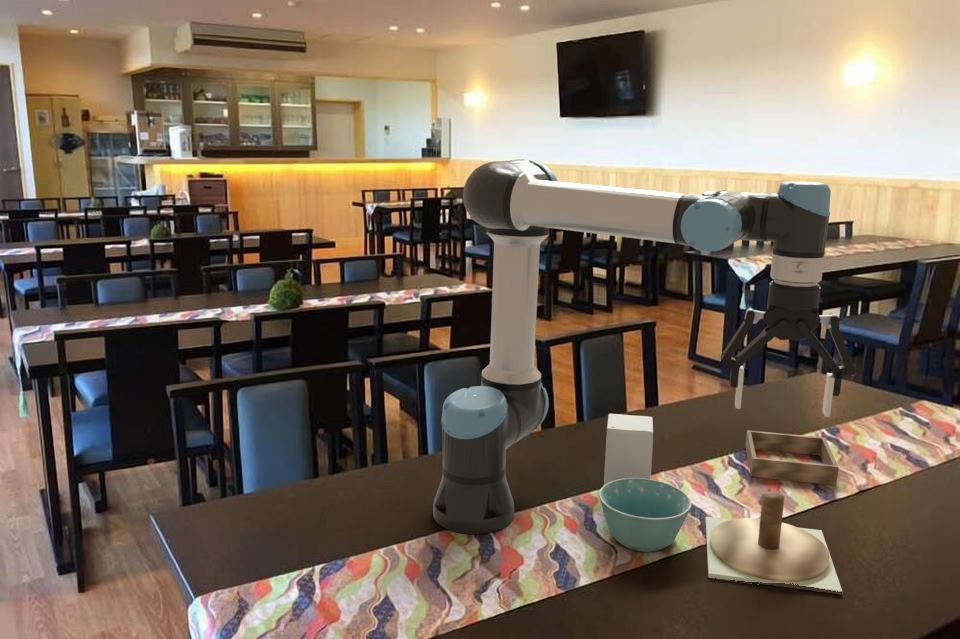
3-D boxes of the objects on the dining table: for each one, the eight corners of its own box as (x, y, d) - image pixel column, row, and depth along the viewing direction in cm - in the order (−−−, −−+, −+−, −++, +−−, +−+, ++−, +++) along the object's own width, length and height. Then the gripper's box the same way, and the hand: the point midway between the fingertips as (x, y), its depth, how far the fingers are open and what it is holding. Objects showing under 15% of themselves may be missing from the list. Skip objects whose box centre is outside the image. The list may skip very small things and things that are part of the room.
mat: (708, 577, 129) (708, 573, 128) (705, 520, 147) (705, 516, 147) (841, 595, 124) (842, 591, 124) (821, 534, 143) (821, 530, 143)
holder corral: (751, 476, 167) (752, 458, 166) (745, 446, 182) (746, 430, 181) (836, 485, 163) (838, 467, 162) (823, 454, 178) (825, 437, 177)
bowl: (704, 539, 141) (708, 496, 139) (657, 573, 130) (660, 527, 128) (629, 510, 151) (631, 470, 149) (579, 540, 140) (581, 496, 138)
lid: (710, 572, 129) (715, 514, 126) (709, 518, 147) (713, 466, 144) (837, 590, 124) (844, 530, 122) (819, 532, 142) (826, 479, 139)
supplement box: (649, 505, 153) (654, 432, 150) (602, 500, 155) (605, 428, 152) (649, 485, 162) (653, 415, 159) (604, 481, 164) (608, 412, 160)
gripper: (713, 281, 124) (702, 410, 129) (887, 291, 118) (869, 425, 123) (711, 273, 131) (701, 395, 136) (876, 282, 125) (859, 409, 130)
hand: (781, 410), depth 130 cm, fingers open, 13 cm apart
